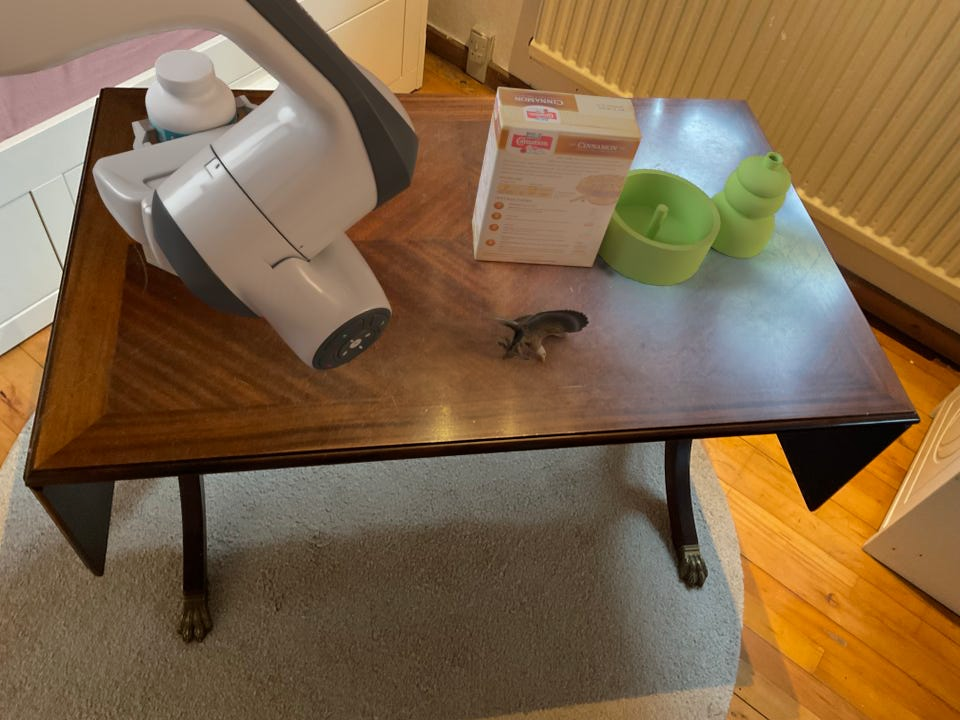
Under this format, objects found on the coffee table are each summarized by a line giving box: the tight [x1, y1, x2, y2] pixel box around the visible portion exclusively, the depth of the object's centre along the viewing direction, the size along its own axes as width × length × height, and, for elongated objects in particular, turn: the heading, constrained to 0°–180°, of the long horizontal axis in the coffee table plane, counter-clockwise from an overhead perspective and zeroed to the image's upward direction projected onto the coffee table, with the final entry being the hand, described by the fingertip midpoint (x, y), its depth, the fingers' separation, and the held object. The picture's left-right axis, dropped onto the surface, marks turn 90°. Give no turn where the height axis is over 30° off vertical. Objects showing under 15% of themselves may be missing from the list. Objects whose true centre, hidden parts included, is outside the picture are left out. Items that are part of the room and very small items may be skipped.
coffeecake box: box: [471, 86, 643, 268], centre depth 85 cm, size 15×7×20 cm, turn 93°
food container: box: [597, 151, 792, 286], centre depth 92 cm, size 25×15×13 cm, turn 108°
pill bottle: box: [144, 49, 238, 143], centre depth 67 cm, size 8×7×14 cm
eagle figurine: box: [493, 309, 590, 362], centre depth 80 cm, size 8×7×9 cm
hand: (189, 114), depth 67 cm, fingers closed on pill bottle, 7 cm apart
